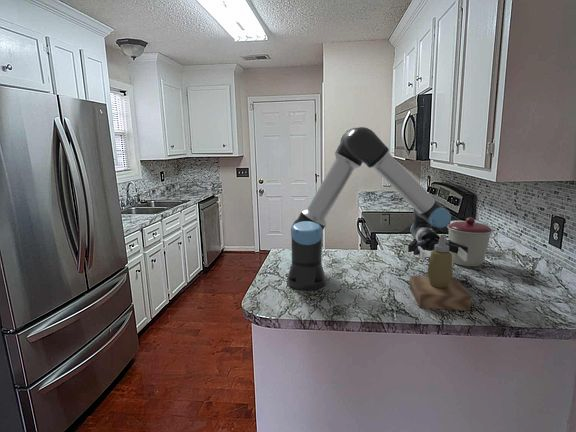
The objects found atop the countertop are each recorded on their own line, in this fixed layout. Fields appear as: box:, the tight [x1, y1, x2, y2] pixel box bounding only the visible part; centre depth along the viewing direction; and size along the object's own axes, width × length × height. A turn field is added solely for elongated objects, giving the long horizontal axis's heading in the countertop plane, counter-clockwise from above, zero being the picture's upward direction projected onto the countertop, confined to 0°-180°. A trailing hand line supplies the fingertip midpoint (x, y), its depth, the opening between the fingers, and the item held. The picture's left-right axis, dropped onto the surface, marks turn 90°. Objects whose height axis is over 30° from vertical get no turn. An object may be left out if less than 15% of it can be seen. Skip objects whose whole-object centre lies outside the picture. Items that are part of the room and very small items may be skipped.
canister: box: [446, 217, 494, 267], centre depth 157 cm, size 18×18×21 cm
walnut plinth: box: [409, 275, 473, 311], centre depth 123 cm, size 16×16×5 cm
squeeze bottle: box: [426, 234, 453, 288], centre depth 121 cm, size 8×8×18 cm
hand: (444, 256), depth 118 cm, fingers open, 13 cm apart
